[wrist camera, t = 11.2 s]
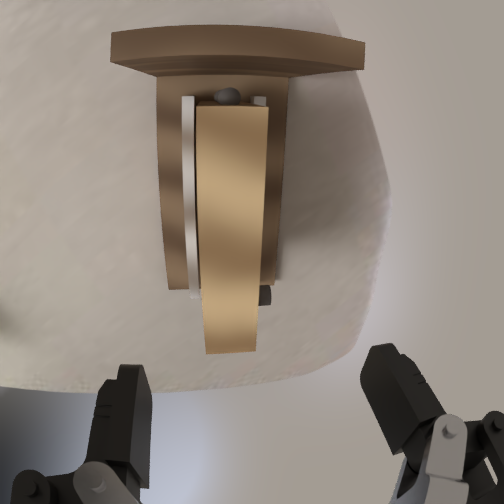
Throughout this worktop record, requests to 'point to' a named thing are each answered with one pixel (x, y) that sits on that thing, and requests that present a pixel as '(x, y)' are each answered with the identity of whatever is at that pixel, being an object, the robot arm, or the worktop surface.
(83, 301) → the worktop surface
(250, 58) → the hinge base
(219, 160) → the oak door
